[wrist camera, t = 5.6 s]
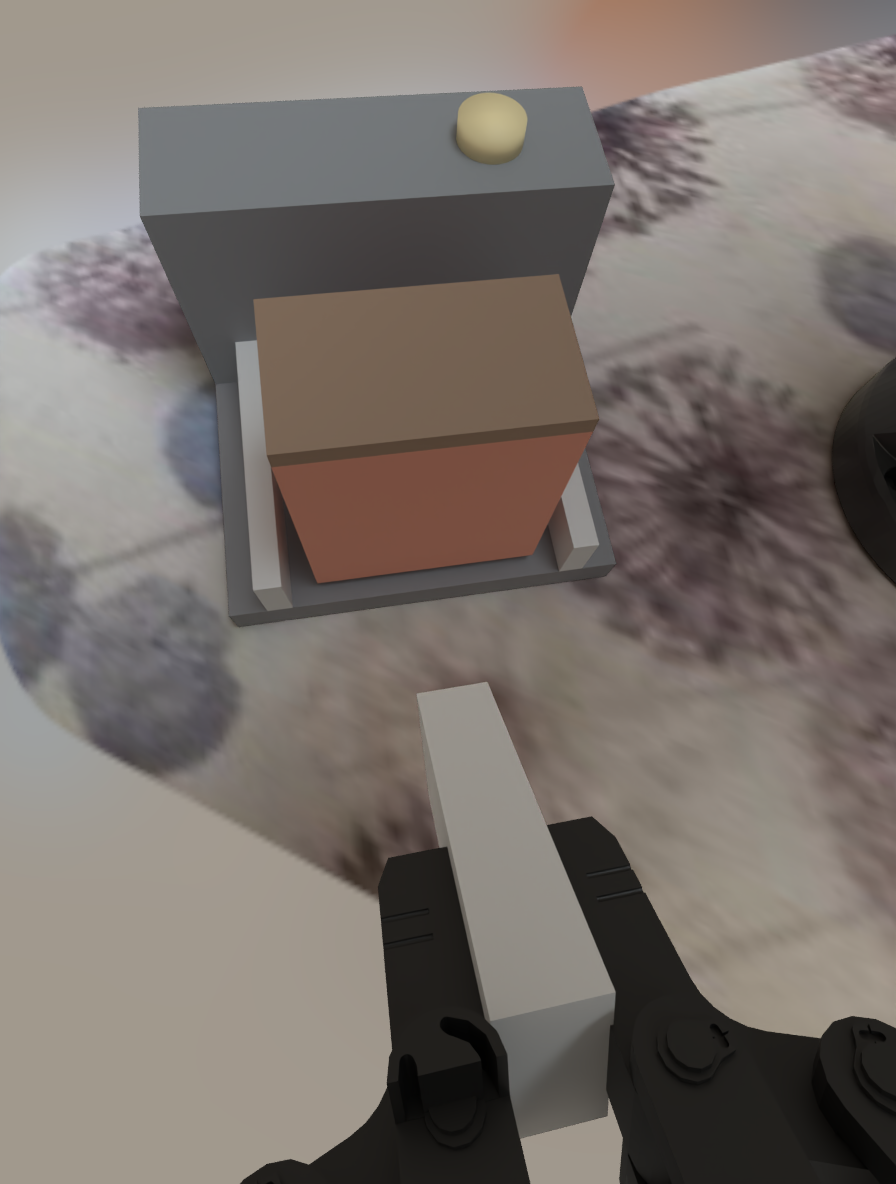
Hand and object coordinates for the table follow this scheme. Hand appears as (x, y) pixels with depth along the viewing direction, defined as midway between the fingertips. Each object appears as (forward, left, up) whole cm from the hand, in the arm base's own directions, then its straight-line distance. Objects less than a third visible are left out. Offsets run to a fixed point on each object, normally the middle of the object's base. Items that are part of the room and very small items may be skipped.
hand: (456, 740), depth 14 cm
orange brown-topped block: (-8, -7, -10) cm, 14 cm away
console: (-11, -10, -12) cm, 19 cm away
